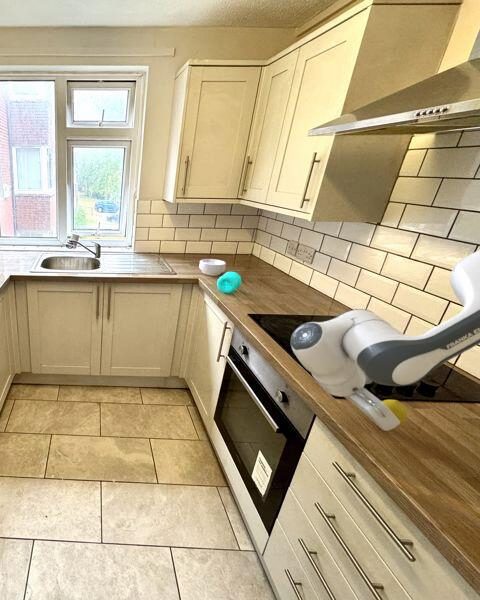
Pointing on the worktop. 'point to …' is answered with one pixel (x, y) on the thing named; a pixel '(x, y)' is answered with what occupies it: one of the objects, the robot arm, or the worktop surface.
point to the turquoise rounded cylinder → (225, 285)
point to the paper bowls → (212, 266)
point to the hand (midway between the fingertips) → (366, 409)
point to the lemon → (397, 410)
